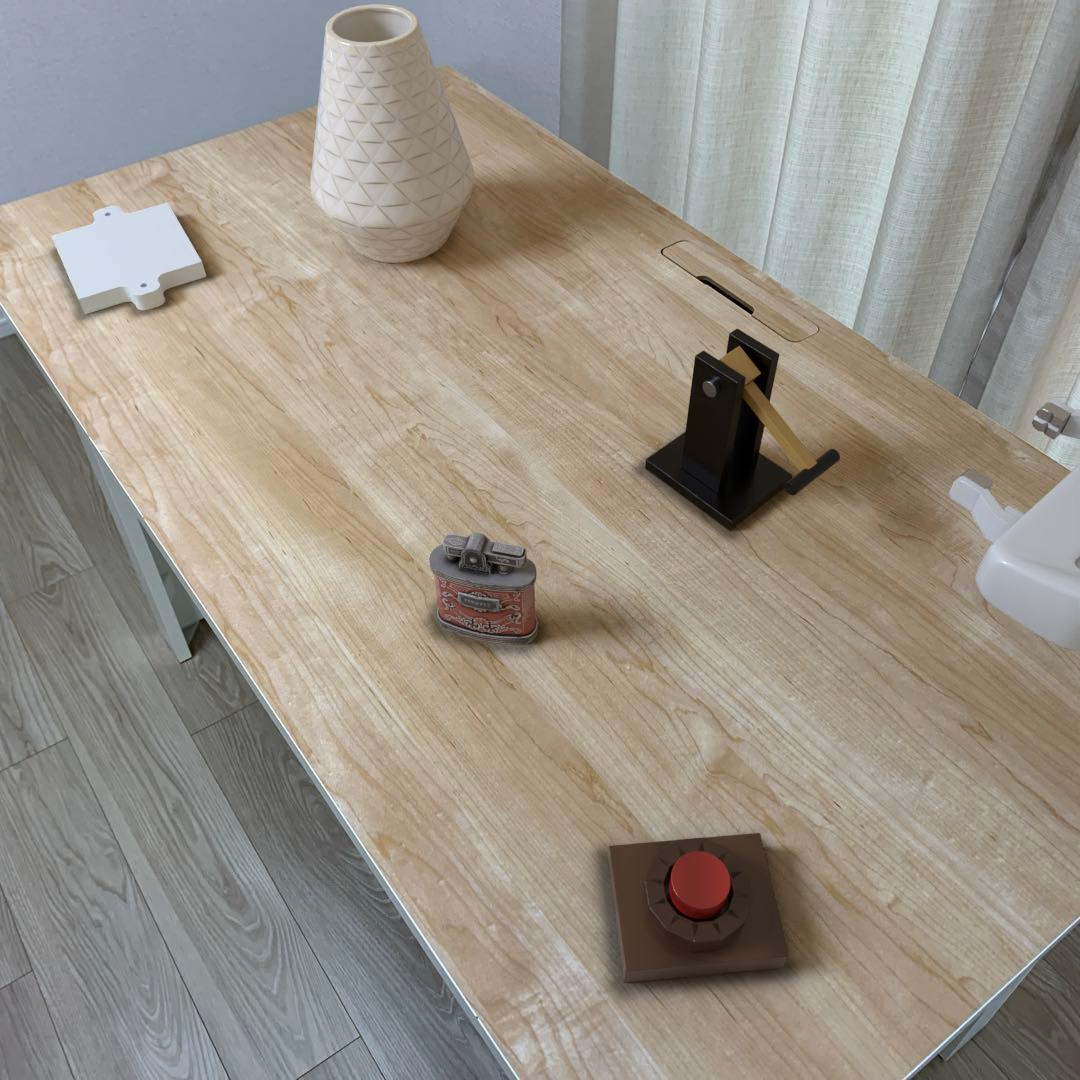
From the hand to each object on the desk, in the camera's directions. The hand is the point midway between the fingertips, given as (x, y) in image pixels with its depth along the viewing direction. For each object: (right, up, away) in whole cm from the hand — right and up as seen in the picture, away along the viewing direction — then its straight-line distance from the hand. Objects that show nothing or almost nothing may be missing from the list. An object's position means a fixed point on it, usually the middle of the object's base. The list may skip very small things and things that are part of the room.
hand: (1000, 445), depth 68 cm
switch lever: (-12, +3, +16) cm, 20 cm away
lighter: (-34, -13, +15) cm, 39 cm away
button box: (-20, -30, 0) cm, 36 cm away
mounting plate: (-74, +24, +47) cm, 91 cm away
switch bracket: (-14, -1, +25) cm, 28 cm away
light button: (-20, -28, -3) cm, 34 cm away
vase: (-45, +28, +49) cm, 73 cm away
